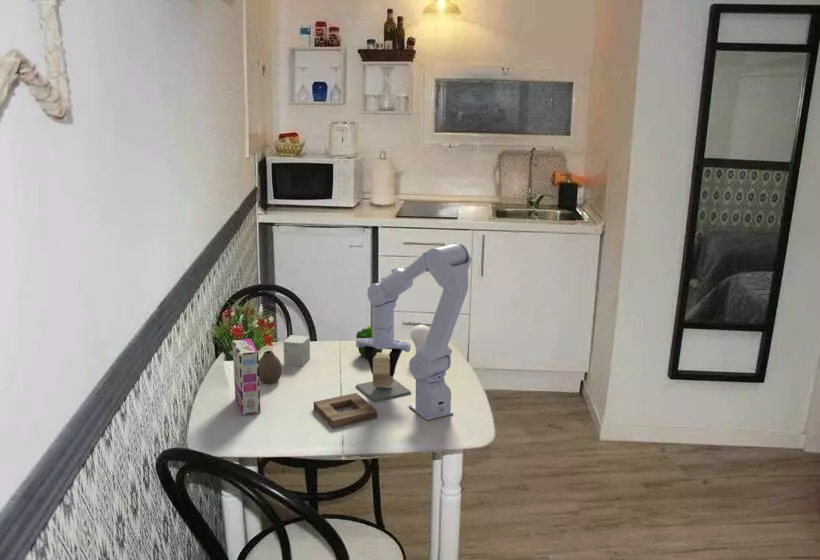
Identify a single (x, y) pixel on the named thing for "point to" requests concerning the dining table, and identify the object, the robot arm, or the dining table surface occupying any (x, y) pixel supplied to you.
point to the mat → (383, 391)
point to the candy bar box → (246, 376)
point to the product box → (296, 350)
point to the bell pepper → (365, 334)
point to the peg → (382, 370)
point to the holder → (336, 419)
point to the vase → (269, 368)
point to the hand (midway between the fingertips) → (383, 373)
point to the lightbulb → (419, 335)
